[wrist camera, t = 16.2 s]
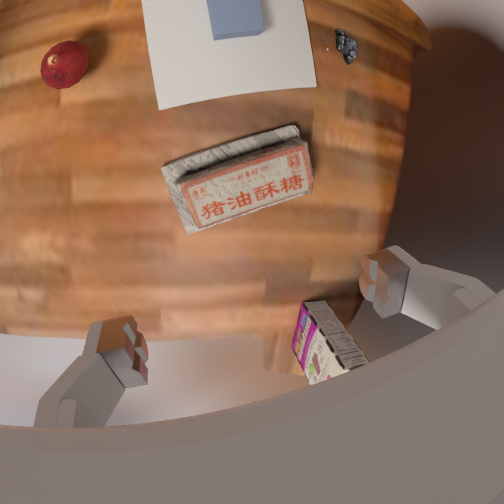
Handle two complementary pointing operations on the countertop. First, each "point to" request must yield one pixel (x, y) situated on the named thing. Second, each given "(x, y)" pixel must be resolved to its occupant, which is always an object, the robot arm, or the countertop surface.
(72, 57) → the onion
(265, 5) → the rubber mat
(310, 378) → the candy bar box
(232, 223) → the countertop surface
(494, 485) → the robot arm
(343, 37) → the blueberries
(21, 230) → the countertop surface
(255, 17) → the card box
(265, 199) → the packaged product
